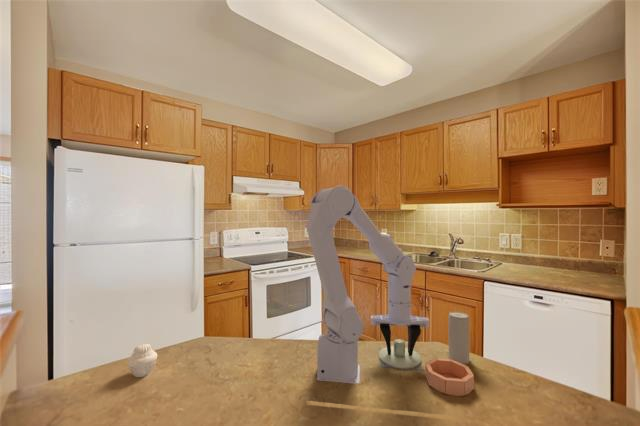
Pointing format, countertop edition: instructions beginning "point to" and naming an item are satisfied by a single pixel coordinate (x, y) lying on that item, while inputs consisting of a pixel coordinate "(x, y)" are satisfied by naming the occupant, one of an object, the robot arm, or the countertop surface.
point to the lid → (399, 356)
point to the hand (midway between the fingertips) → (399, 353)
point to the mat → (393, 367)
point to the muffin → (142, 360)
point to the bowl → (449, 377)
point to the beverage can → (459, 337)
